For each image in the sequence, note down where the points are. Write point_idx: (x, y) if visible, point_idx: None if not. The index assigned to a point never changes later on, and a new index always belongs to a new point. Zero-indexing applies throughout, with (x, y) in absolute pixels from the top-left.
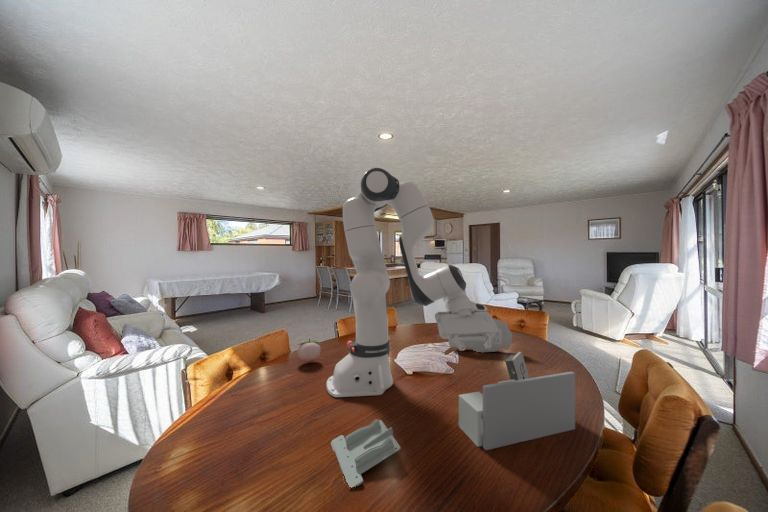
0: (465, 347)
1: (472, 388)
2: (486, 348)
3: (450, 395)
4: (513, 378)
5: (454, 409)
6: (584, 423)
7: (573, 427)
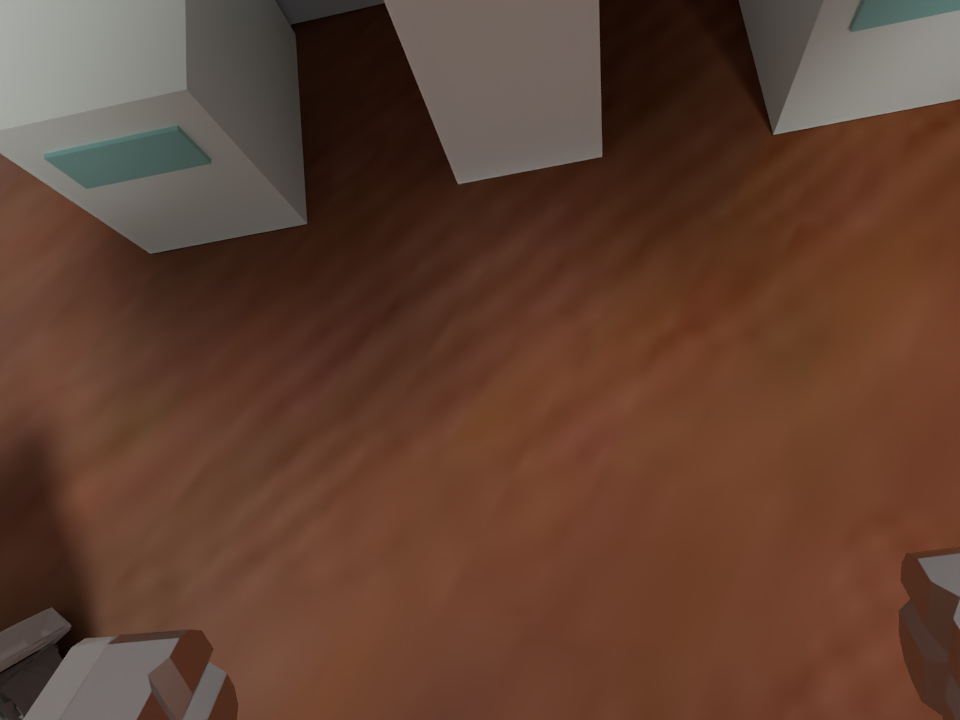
0: (919, 560)
1: (570, 716)
2: (229, 684)
3: (892, 605)
4: None
5: (930, 332)
6: None
7: None
